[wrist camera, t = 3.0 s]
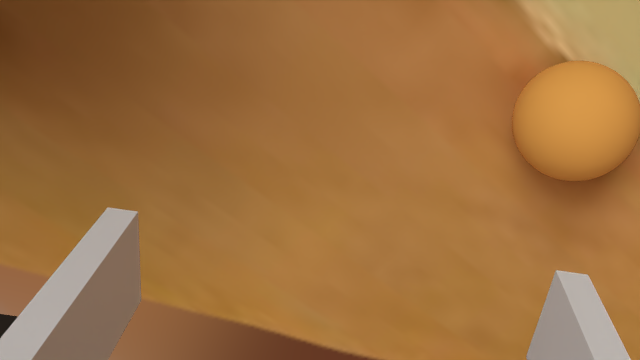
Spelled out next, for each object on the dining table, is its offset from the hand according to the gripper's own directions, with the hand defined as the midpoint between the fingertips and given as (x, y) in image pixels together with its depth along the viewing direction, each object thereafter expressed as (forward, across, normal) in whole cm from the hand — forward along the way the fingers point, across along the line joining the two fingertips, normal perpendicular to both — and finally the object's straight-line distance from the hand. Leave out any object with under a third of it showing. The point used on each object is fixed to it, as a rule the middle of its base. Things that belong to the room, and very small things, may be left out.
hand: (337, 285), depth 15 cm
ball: (+15, +10, 0) cm, 18 cm away
